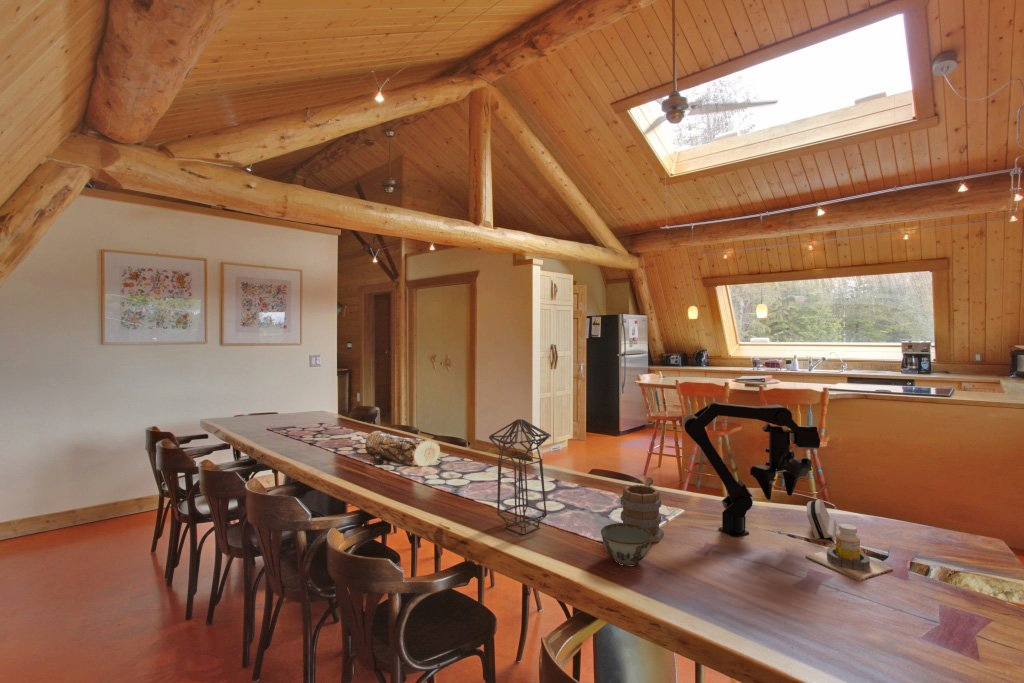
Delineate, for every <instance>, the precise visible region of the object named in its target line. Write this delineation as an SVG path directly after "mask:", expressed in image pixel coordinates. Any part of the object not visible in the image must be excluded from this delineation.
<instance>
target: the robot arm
mask: <svg viewBox="0 0 1024 683" xmlns="http://www.w3.org/2000/svg"><path fill="white" fill-rule="evenodd" d="M717 417H728V418H731V417H732V418H739V419H748V420H749V419H751V420H758V421H762V422H765V425H764V426H763V427H761V430H762V431H763V432H764V433H768V448H765V453H768V461H765V465H763V464H758V465H757V464H756V465H751V467H750V468H749V474H750V476H752V477H753V478H754V479H755V480H756V482H758V485H759V486H760V488H761V491H762V493H763V494H764V497H765V498H766V500H769V501H770V500H771V497H772V493H773V492H772V491H773V489H772V488H773V483H775V482H776V481H777V479H776V478H775V477H776V476H777V474H780V473H782V476H783V482H784V488H785V491H786V494H787V495H788V496H789V497H791V496H792V495H793V493H794V490H795V487H796V486H797V483H798V480H799V479H801V478H802V477H807V475H808V474H809V472H811V471H813V468H812V467H813V465H812V464H813V463H812V460H811V459H810V458H808V457H804V458H796V457H795V452H794V450H793V451H792V450H791V445H794V447H795V448H797V449H813V450H815V449H816V450H818V449H820V446H821V437H820V436H819V435H820V434H819V432H818V427H817V426H816V425H798V424H797V423H796V422H795V420H794V419H793V414H792V411H791V410H790V409H789V408H787V407H785V406H783V405H782V404H766V405H759V406H758V405H757V406H753V405H743V404H733V403H723V402H716V401H712V402H709V403H708V405H706V406H705V407H703V408H701V409H699V410H698V411H697V412H696V413H695V412H694V414H690V415H687V416H686V417H685V418H684V419H683V422H682V426H683V428H684V430H685V432H686V434H687V435H688V436H689V437H690V438H691V439H692V440H693V441H694V442H695V444H697V445H698V446H699V448H700V449H701V451H702V452H703V453H704V455H705V457H706V458H707V459H708V462H709V463H710V464H711V466H712V468H713V469H714V471H715V473H716V474H717V476H718V477H719V478H720V480H721V482H722V483H723V485H724V489H725V491H726V493H727V495H726V497H725V498H723V499H722V500H721V504H722V505H723V508H724V509H723V511H722V513H721V514H722V516H721V518H722V520H721V522H722V523H721V524H722V526H720V527H718V530H719V531H721V532H723V533H725V534H727V535H729V536H731V537H740V536H745V535H749V534H750V531H748V530H746V520H747V519H746V514H747V512H748V511H749V510H751V508H752V507H753V502H754V501H753V499H752V497H753V495H752V493H751V491H750V490H749V489H748V487H747V486H746V484H745V482H744V480H743V479H739V480H737V479H736V477H735V476H733V475H732V473H731V471H730V469H729V468H728V467H727V465H726V463H725V461H724V460H723V459H722V457H721V456H720V454H719V453H718V451H717V450H716V448H715V447H714V445H713V444H712V442H711V440H710V437H709V434H708V433H707V430H706V427H707V426H708V425H709V424H711V422H713V420H715V419H716V418H717ZM771 424H772V425H771ZM774 425H775V426H774ZM783 427H787V428H788V429H784V428H783Z"/></svg>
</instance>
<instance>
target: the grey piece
mask: <svg viewBox="0 0 1024 683" xmlns="http://www.w3.org/2000/svg"><path fill="white" fill-rule="evenodd" d="M806 516H807V519H808V522H809V525H810V528H811V530H812V533H813V535H814V538H815V537H816V538H820V539H821V538H824V539H828V538H831V540H832V541H833V540H835V541H836V539H835V533H837V528H836V526H837V522H836V520H835V519H834V518H833V517H830V515H829V512H828V510H827V508H826V505H825V502H824V501H823V499H816V500H815V501H814V500H811V501H808V502H807V504H806ZM816 538H815V539H816Z"/></svg>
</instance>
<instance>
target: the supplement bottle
mask: <svg viewBox="0 0 1024 683" xmlns="http://www.w3.org/2000/svg"><path fill="white" fill-rule="evenodd" d="M838 530H839V531H836V539H835V547H836V556H839V557H841V558H844V559H848V560H855V561H860V552H861V538H860V536H859V535H857V534H858V527H857V526H855V525H852V524H849V523H839V525H838Z"/></svg>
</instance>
